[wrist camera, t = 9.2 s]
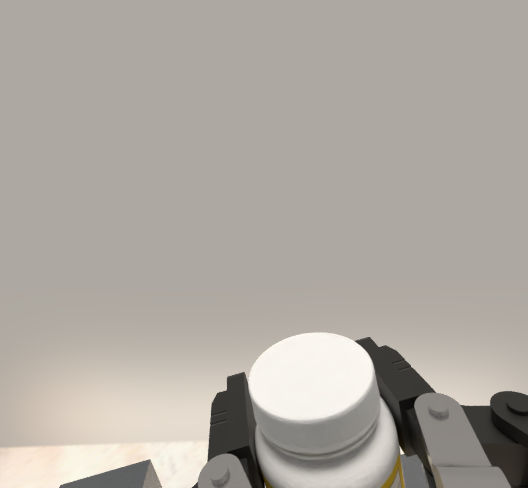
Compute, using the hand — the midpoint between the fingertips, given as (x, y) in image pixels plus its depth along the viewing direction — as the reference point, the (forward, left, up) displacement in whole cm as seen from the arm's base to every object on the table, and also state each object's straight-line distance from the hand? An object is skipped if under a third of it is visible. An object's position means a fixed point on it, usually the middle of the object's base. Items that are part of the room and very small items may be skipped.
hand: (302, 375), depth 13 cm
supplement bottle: (0, -3, -6) cm, 7 cm away
